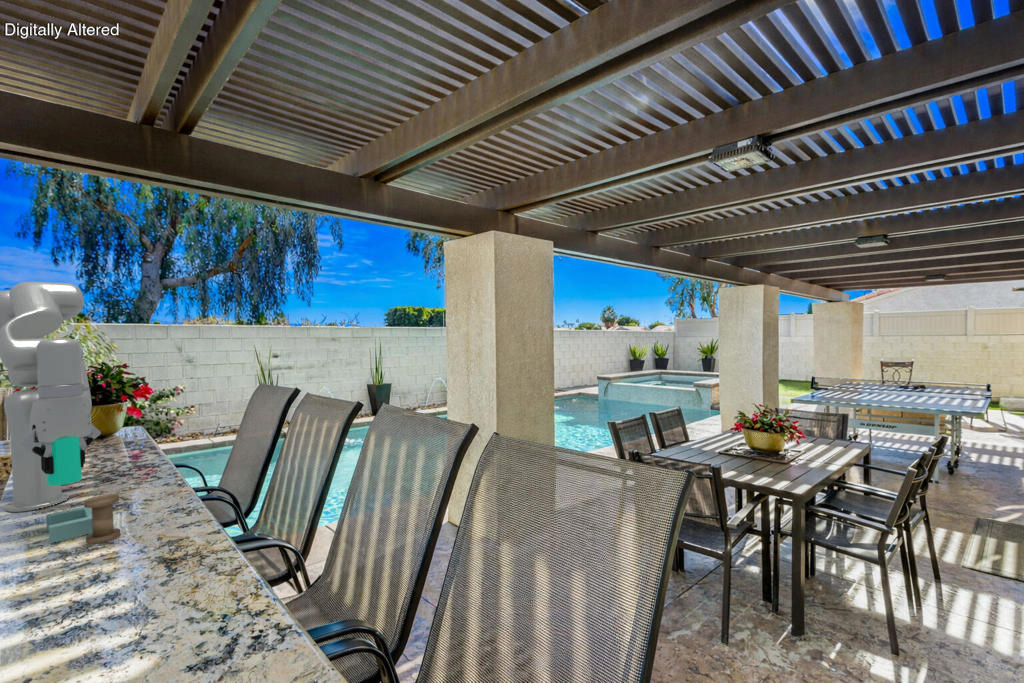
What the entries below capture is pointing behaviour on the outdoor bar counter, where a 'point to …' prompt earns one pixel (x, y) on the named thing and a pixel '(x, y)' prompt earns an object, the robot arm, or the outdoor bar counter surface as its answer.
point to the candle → (65, 462)
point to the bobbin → (102, 518)
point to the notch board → (69, 524)
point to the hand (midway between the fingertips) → (64, 469)
